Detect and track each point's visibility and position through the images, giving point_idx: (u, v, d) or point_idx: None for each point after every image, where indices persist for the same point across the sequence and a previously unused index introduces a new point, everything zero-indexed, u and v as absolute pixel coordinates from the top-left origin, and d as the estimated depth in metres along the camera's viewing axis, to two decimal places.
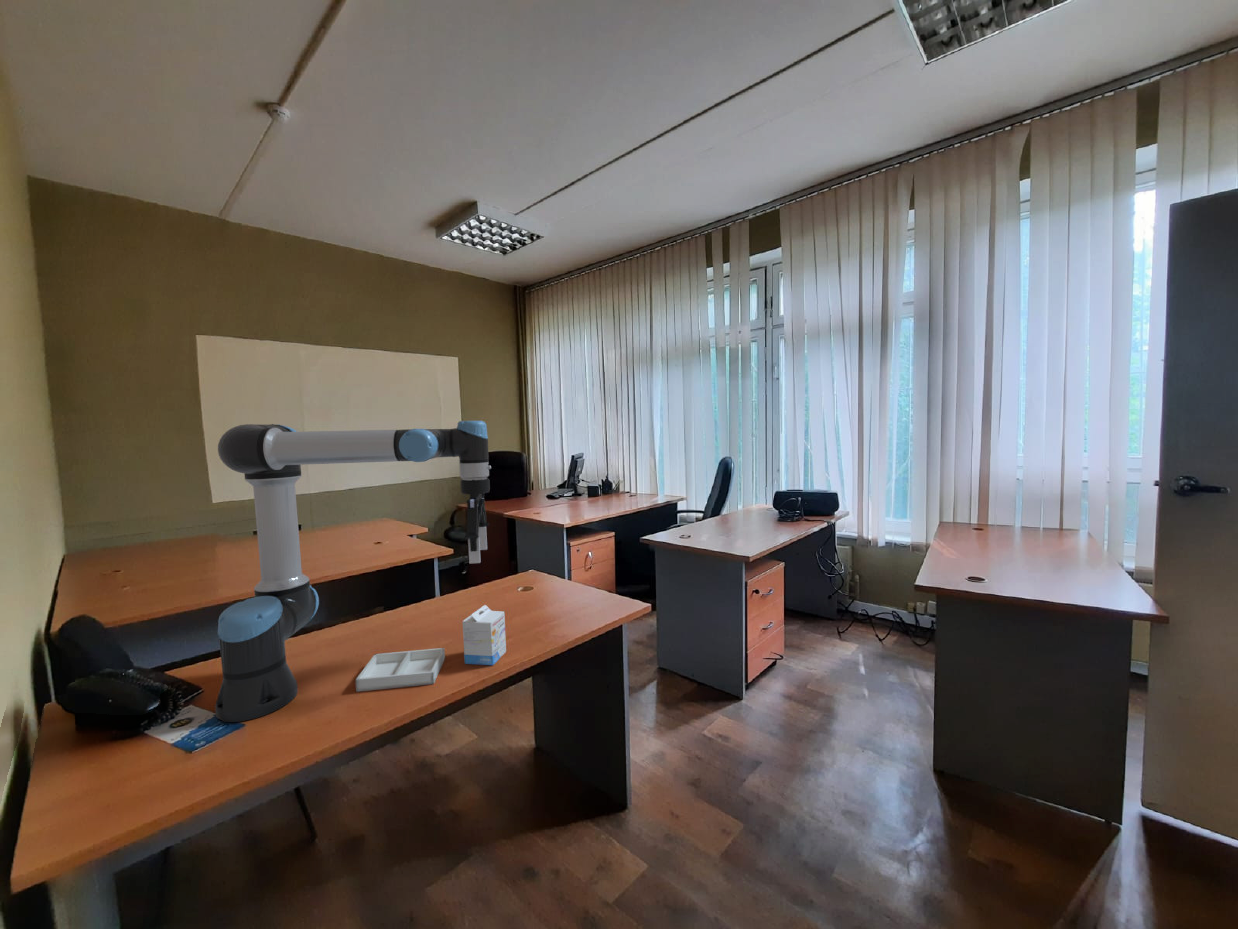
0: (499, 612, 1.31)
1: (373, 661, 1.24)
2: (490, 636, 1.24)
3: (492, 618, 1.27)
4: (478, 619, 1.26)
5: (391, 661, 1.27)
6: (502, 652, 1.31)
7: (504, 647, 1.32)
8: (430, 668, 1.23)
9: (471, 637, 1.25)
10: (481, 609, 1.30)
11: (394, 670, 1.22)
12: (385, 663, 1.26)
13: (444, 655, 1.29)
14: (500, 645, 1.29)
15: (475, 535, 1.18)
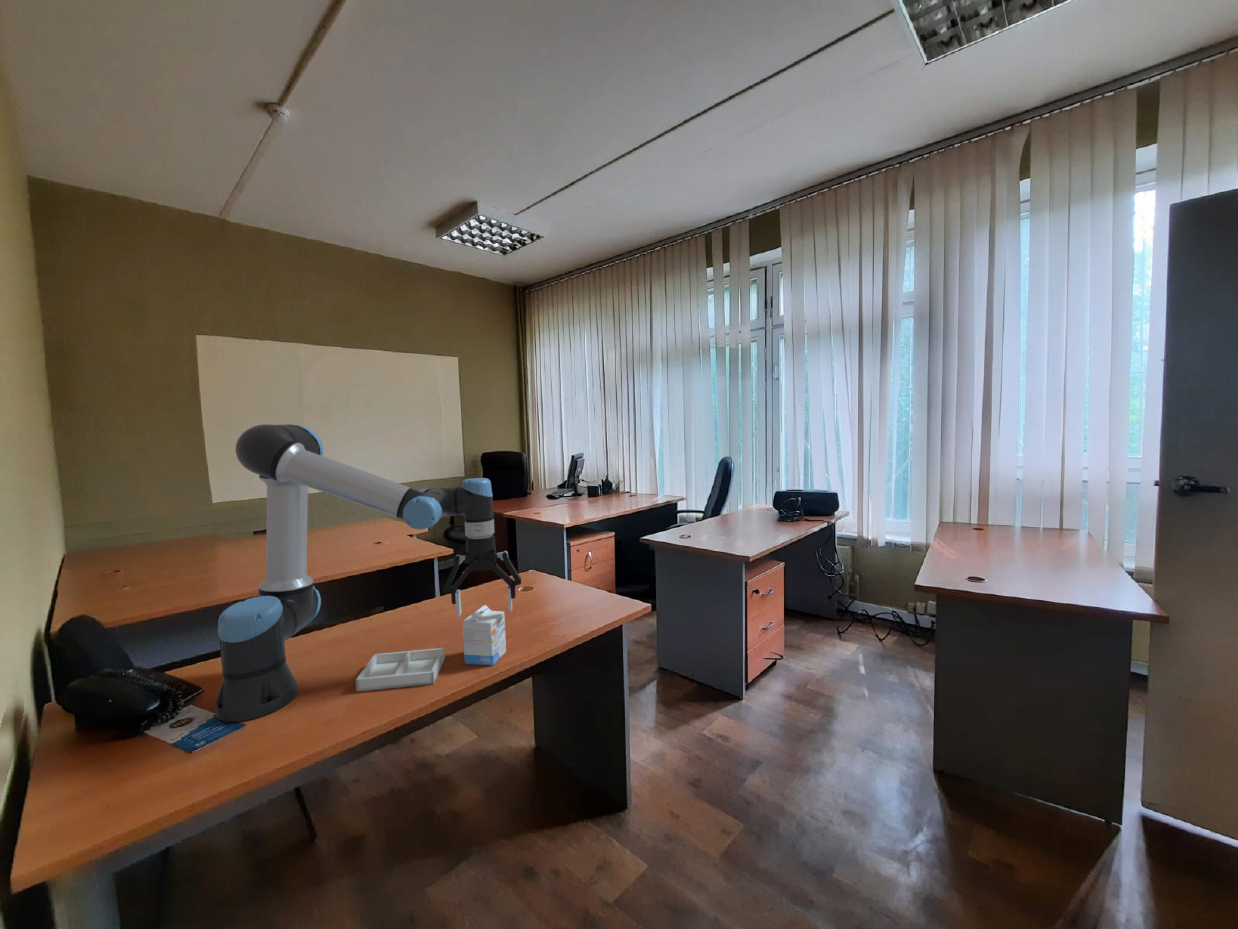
0: (499, 612, 1.31)
1: (373, 661, 1.24)
2: (490, 636, 1.24)
3: (492, 618, 1.27)
4: (478, 619, 1.26)
5: (391, 661, 1.27)
6: (502, 652, 1.31)
7: (504, 647, 1.32)
8: (430, 668, 1.23)
9: (471, 637, 1.25)
10: (481, 609, 1.30)
11: (394, 670, 1.22)
12: (385, 663, 1.26)
13: (444, 655, 1.29)
14: (500, 645, 1.29)
15: None
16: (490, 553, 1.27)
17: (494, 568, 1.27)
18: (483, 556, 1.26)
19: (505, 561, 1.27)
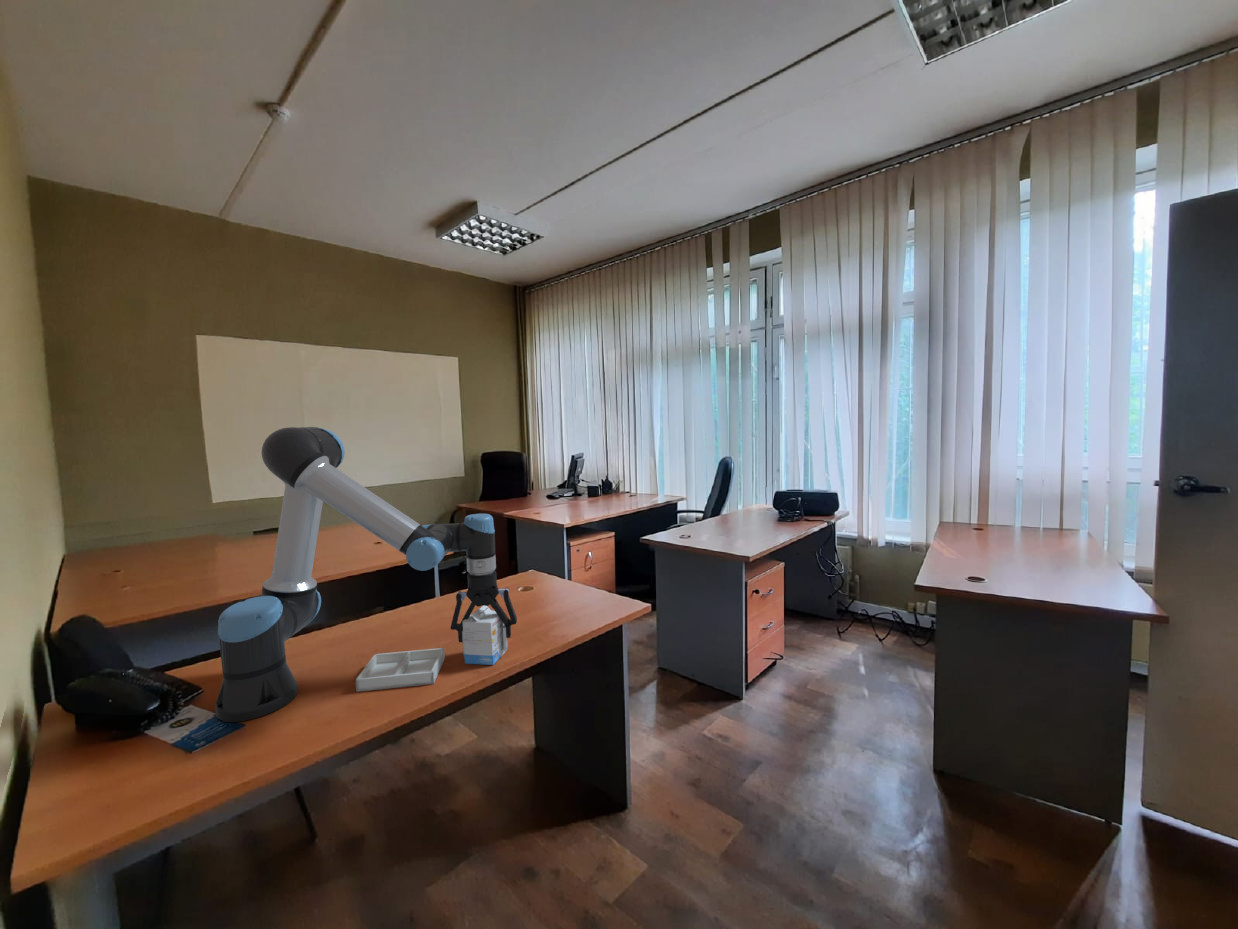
0: None
1: (373, 661, 1.24)
2: (490, 636, 1.24)
3: (492, 618, 1.27)
4: (478, 619, 1.26)
5: (391, 661, 1.27)
6: (502, 652, 1.31)
7: None
8: (430, 668, 1.23)
9: (471, 636, 1.25)
10: (481, 609, 1.30)
11: (394, 670, 1.22)
12: (385, 663, 1.26)
13: (444, 655, 1.29)
14: (500, 644, 1.29)
15: None
16: (492, 588, 1.28)
17: (493, 605, 1.27)
18: (485, 590, 1.27)
19: (505, 599, 1.28)
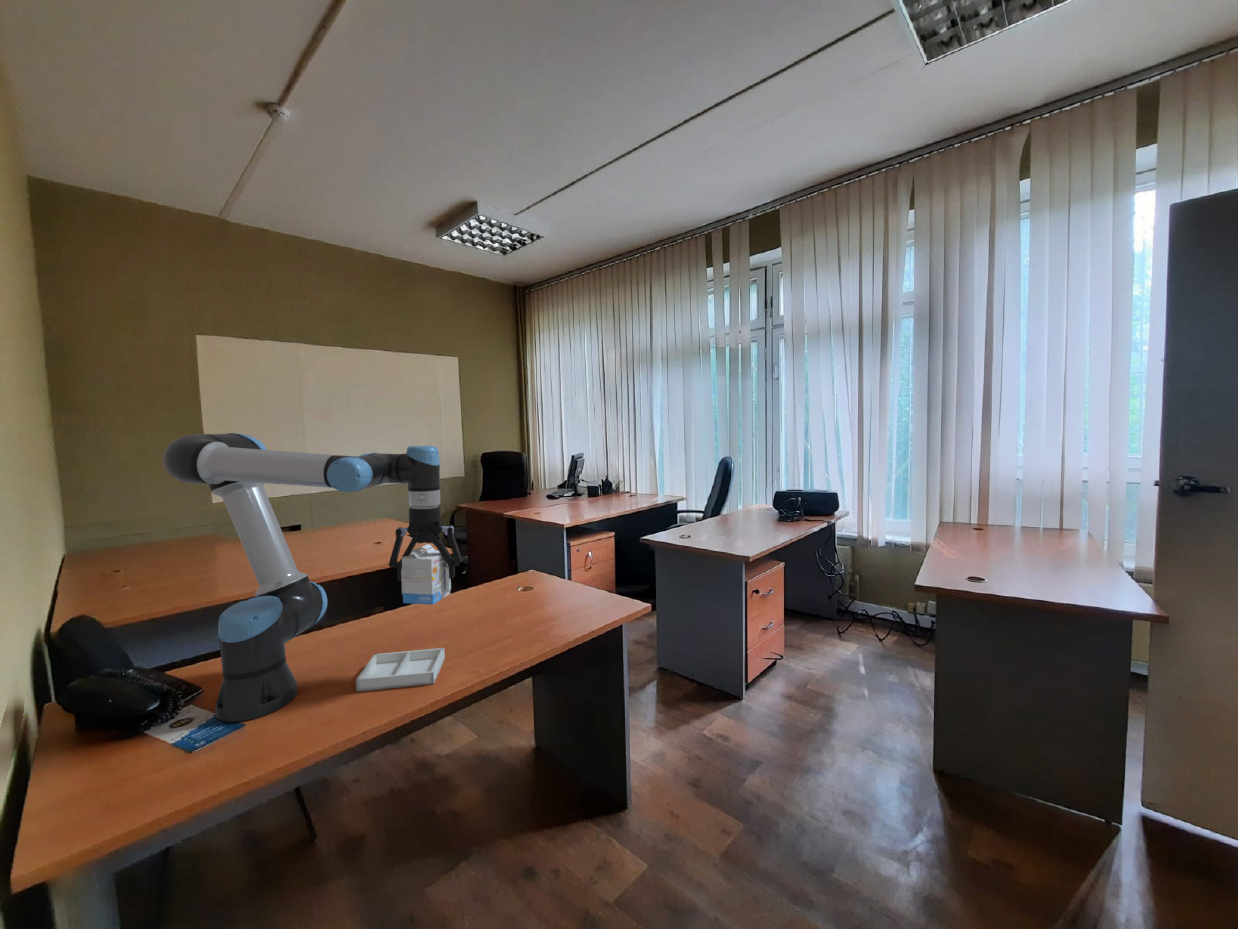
0: None
1: (373, 661, 1.24)
2: (430, 573, 1.17)
3: (434, 556, 1.20)
4: (419, 556, 1.19)
5: (391, 661, 1.27)
6: (445, 594, 1.23)
7: None
8: (430, 668, 1.23)
9: (410, 574, 1.18)
10: (424, 547, 1.23)
11: (394, 670, 1.22)
12: (385, 663, 1.26)
13: (444, 655, 1.29)
14: (442, 585, 1.22)
15: None
16: (435, 525, 1.20)
17: (436, 542, 1.20)
18: (427, 526, 1.20)
19: (449, 536, 1.21)
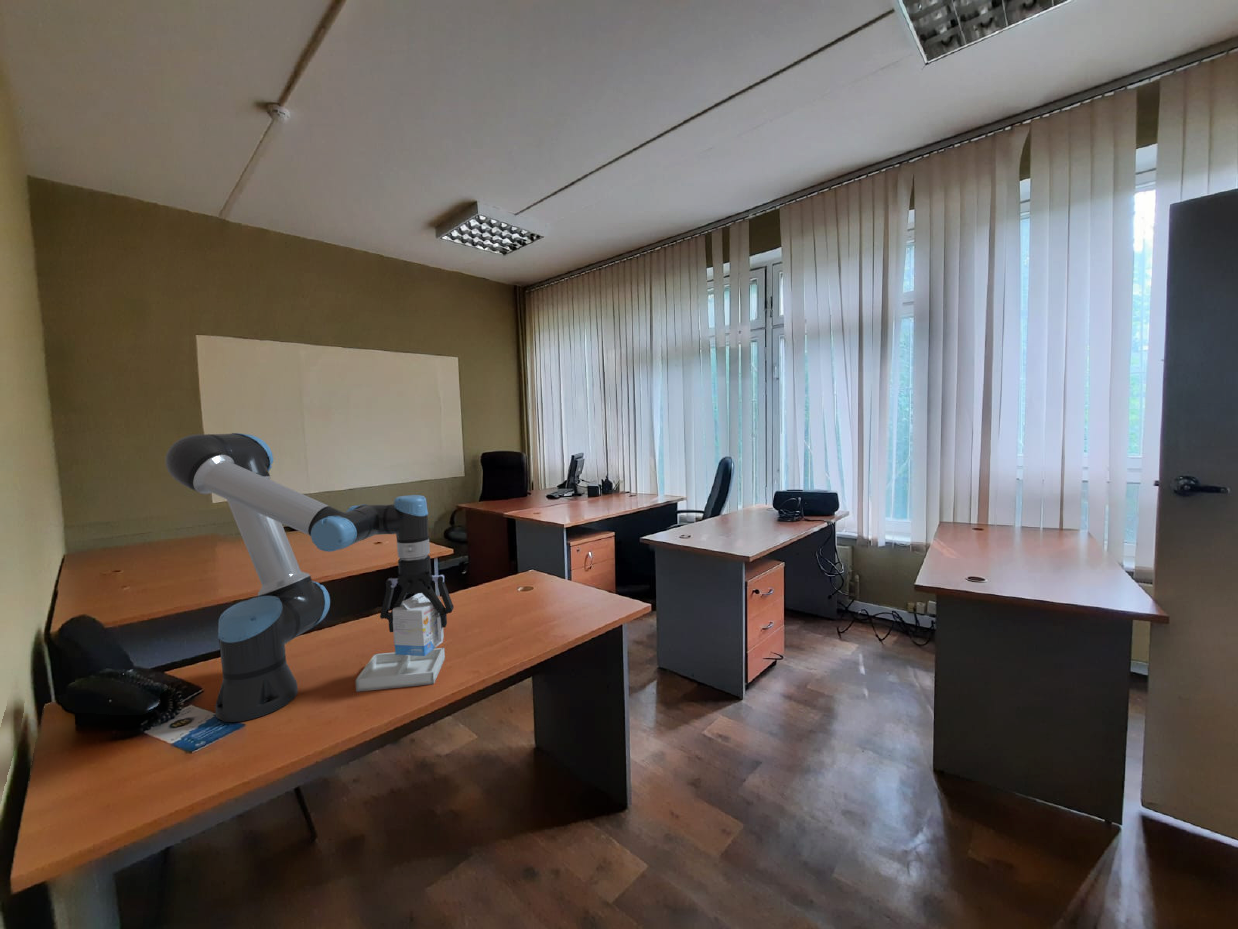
0: None
1: (373, 661, 1.24)
2: (421, 625, 1.16)
3: (425, 606, 1.19)
4: (409, 607, 1.18)
5: (391, 661, 1.27)
6: (438, 642, 1.23)
7: None
8: (430, 668, 1.23)
9: (401, 626, 1.17)
10: (415, 597, 1.22)
11: (394, 670, 1.22)
12: (385, 663, 1.26)
13: (444, 655, 1.29)
14: (434, 634, 1.21)
15: None
16: (425, 575, 1.20)
17: (426, 592, 1.19)
18: (417, 576, 1.19)
19: (439, 586, 1.20)
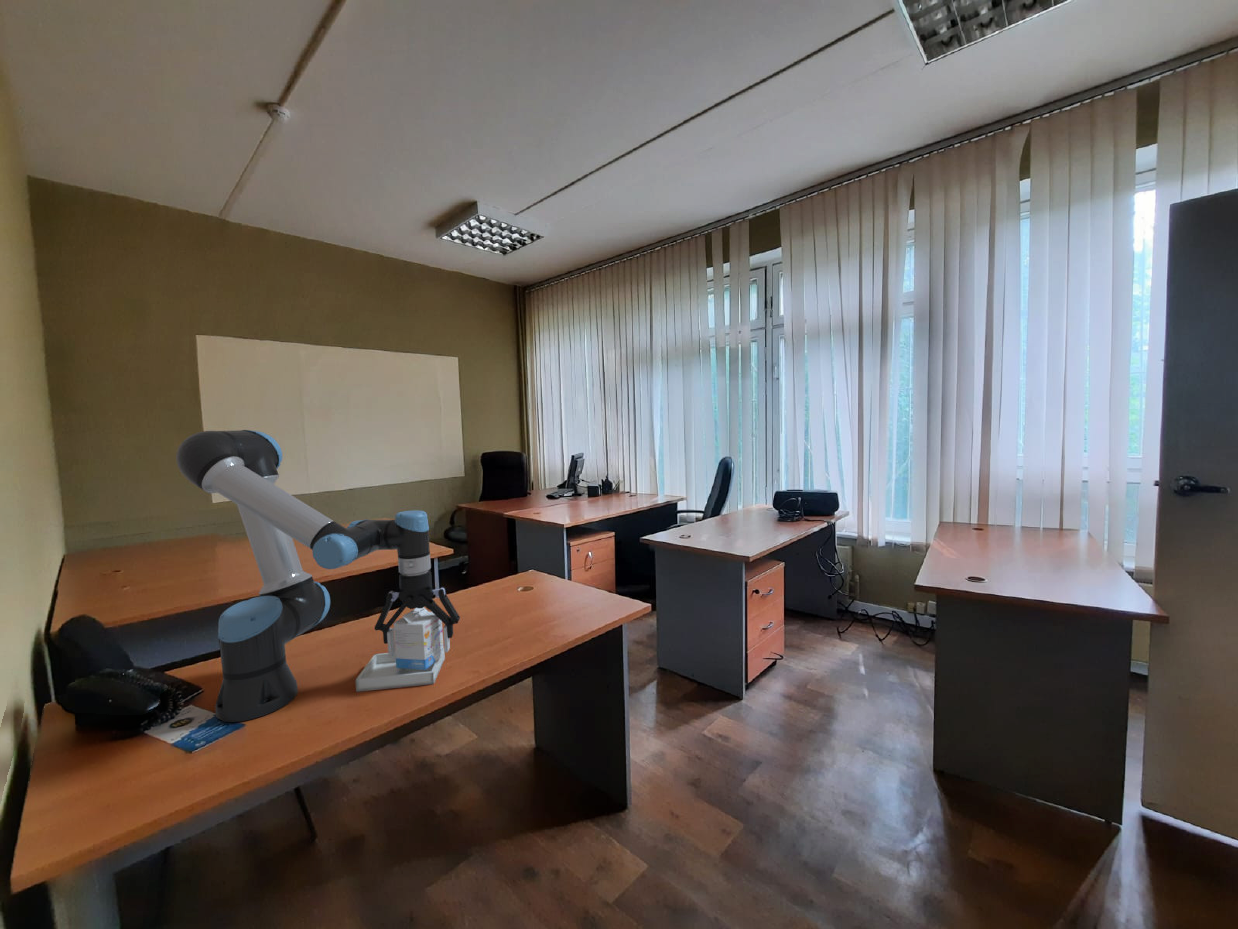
0: None
1: (373, 661, 1.24)
2: (422, 639, 1.17)
3: (426, 619, 1.20)
4: (410, 620, 1.18)
5: (391, 661, 1.27)
6: (439, 655, 1.23)
7: (441, 650, 1.24)
8: (430, 668, 1.23)
9: (402, 639, 1.18)
10: (416, 610, 1.22)
11: (394, 670, 1.22)
12: (385, 663, 1.26)
13: (444, 655, 1.29)
14: (435, 648, 1.21)
15: None
16: (425, 590, 1.20)
17: (429, 606, 1.20)
18: (417, 593, 1.20)
19: (441, 599, 1.21)
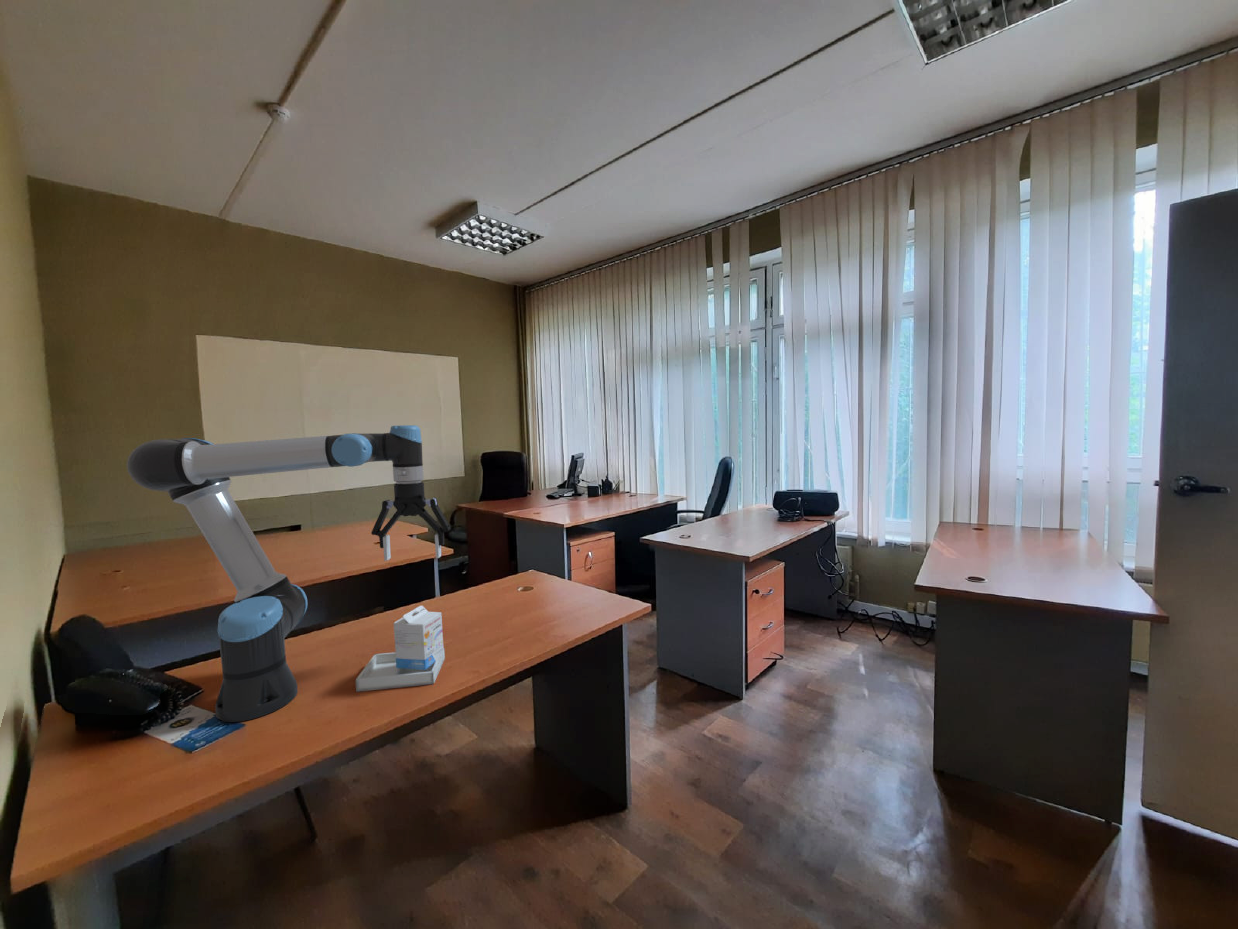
0: (435, 613, 1.24)
1: (373, 661, 1.24)
2: (422, 639, 1.17)
3: (426, 619, 1.20)
4: (410, 620, 1.19)
5: (391, 661, 1.27)
6: (439, 655, 1.23)
7: (441, 650, 1.24)
8: (430, 668, 1.23)
9: (402, 639, 1.18)
10: (416, 610, 1.22)
11: (394, 670, 1.22)
12: (385, 663, 1.26)
13: (444, 655, 1.29)
14: (435, 648, 1.21)
15: None
16: (418, 499, 1.29)
17: (421, 514, 1.28)
18: (411, 502, 1.28)
19: (433, 507, 1.29)
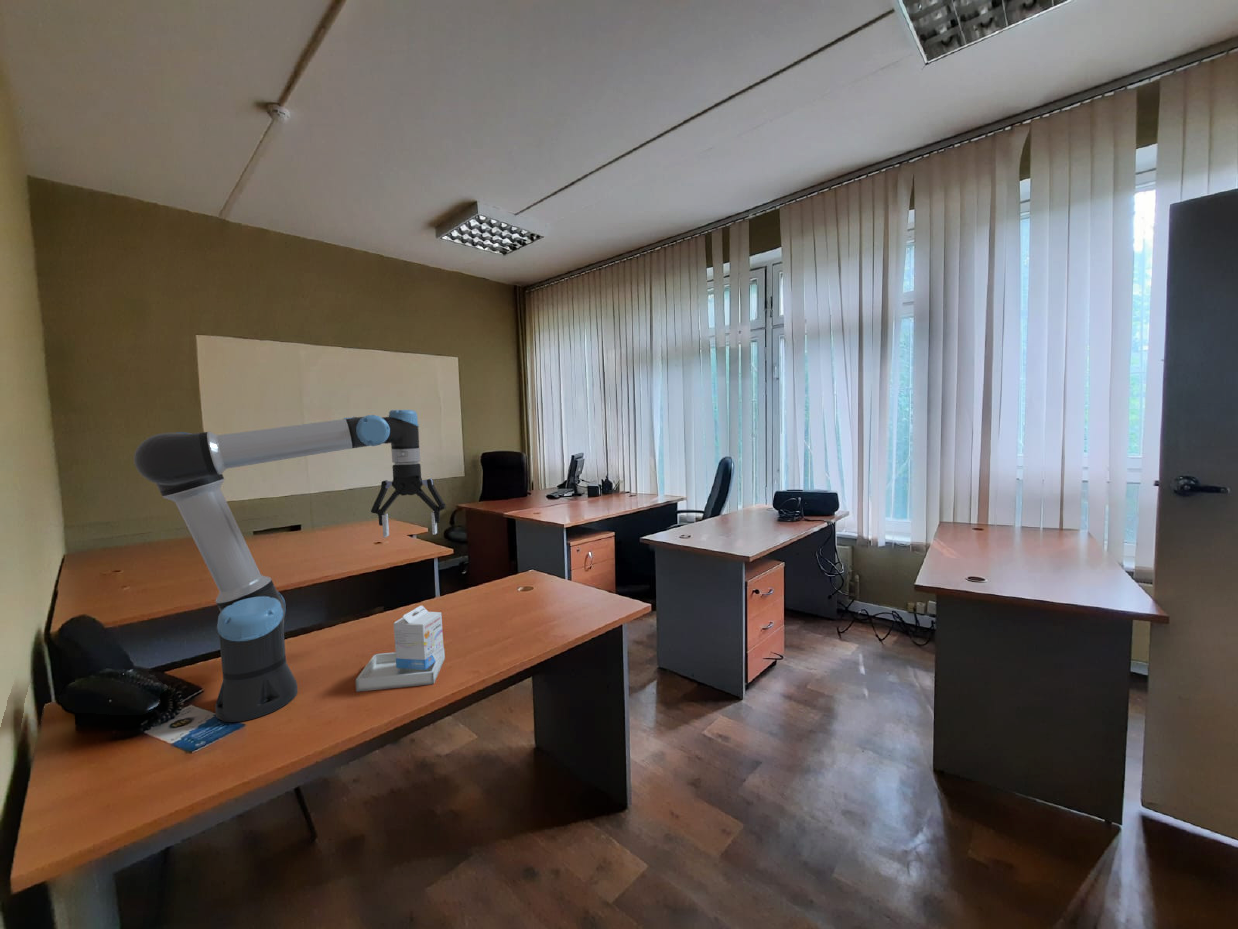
0: (435, 613, 1.24)
1: (373, 661, 1.24)
2: (422, 639, 1.17)
3: (426, 619, 1.20)
4: (410, 620, 1.18)
5: (391, 661, 1.27)
6: (439, 655, 1.23)
7: (441, 650, 1.24)
8: (430, 668, 1.23)
9: (402, 639, 1.18)
10: (416, 610, 1.22)
11: (394, 670, 1.22)
12: (385, 663, 1.26)
13: (444, 655, 1.29)
14: (435, 648, 1.21)
15: None
16: (415, 479, 1.38)
17: (418, 493, 1.37)
18: (408, 482, 1.37)
19: (429, 487, 1.38)
